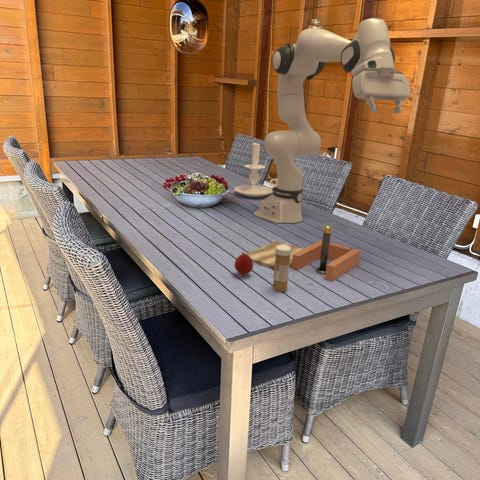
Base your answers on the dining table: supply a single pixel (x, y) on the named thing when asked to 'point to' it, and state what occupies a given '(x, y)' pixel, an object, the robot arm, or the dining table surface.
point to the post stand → (324, 249)
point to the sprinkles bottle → (281, 267)
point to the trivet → (270, 254)
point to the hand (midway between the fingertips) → (386, 112)
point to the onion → (243, 264)
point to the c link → (339, 253)
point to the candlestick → (255, 177)
